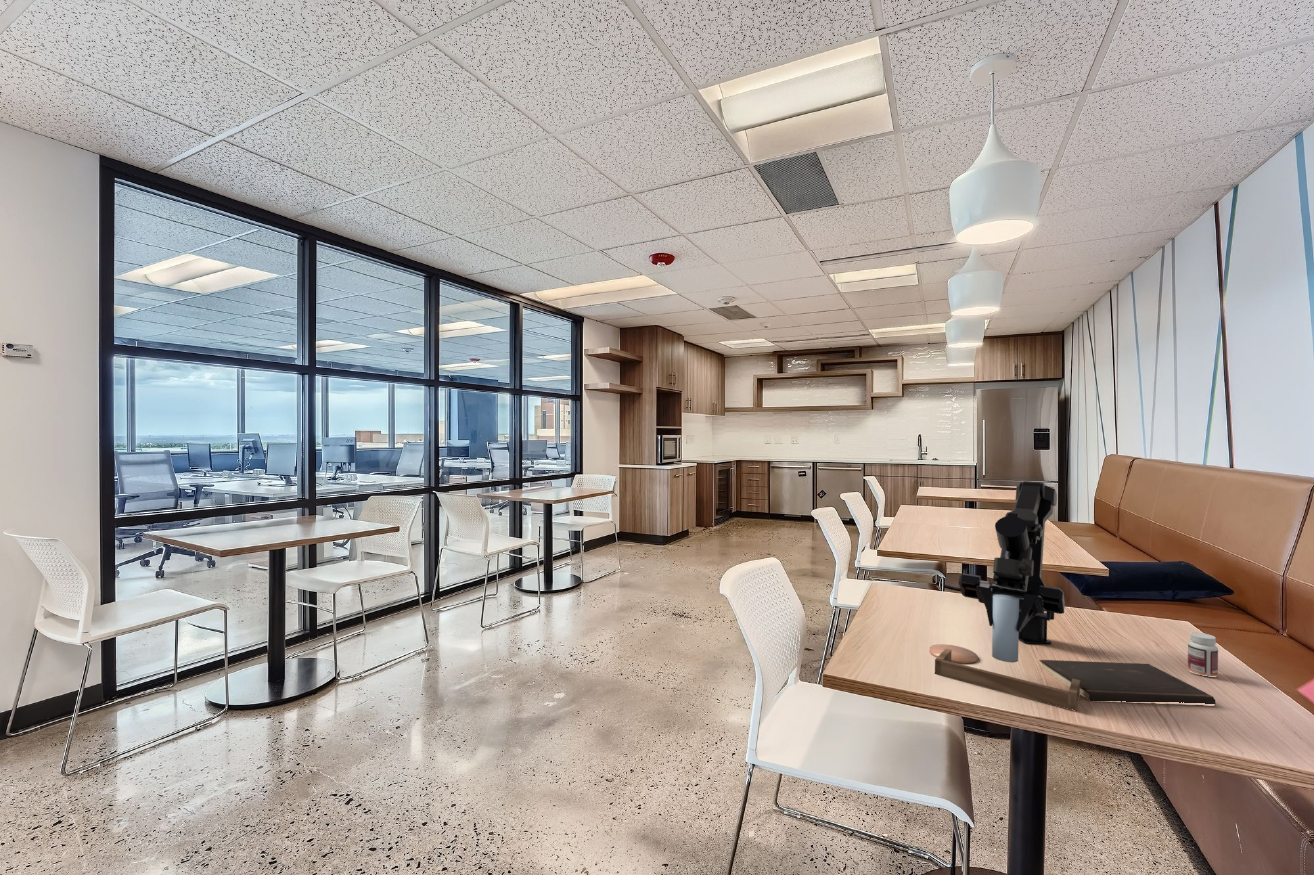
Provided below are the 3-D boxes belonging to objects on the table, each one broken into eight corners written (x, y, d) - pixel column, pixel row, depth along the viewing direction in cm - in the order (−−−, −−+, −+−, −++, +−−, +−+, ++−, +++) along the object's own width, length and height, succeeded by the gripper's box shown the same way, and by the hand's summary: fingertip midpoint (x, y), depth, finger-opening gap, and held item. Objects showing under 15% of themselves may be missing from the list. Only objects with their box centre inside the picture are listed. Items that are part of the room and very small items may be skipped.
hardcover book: (1039, 669, 125) (1039, 659, 125) (1148, 674, 123) (1148, 663, 123) (1089, 704, 109) (1089, 692, 109) (1215, 709, 107) (1216, 697, 107)
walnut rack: (945, 661, 127) (945, 648, 127) (1079, 695, 111) (1079, 680, 111) (934, 673, 121) (934, 659, 121) (1075, 711, 105) (1075, 695, 105)
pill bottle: (1209, 670, 124) (1210, 633, 124) (1223, 679, 120) (1223, 640, 120) (1182, 667, 126) (1183, 630, 126) (1194, 676, 121) (1195, 637, 121)
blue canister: (994, 651, 120) (995, 593, 120) (1019, 657, 117) (1020, 597, 117) (989, 658, 116) (990, 597, 116) (1016, 664, 113) (1017, 602, 113)
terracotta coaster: (963, 647, 136) (963, 644, 136) (986, 663, 126) (986, 661, 126) (921, 646, 137) (921, 643, 137) (942, 663, 127) (942, 660, 127)
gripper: (961, 537, 125) (947, 597, 117) (1064, 549, 113) (1056, 616, 105) (969, 566, 131) (956, 625, 123) (1067, 580, 119) (1060, 647, 111)
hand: (1004, 627), depth 115 cm, fingers closed on blue canister, 5 cm apart
